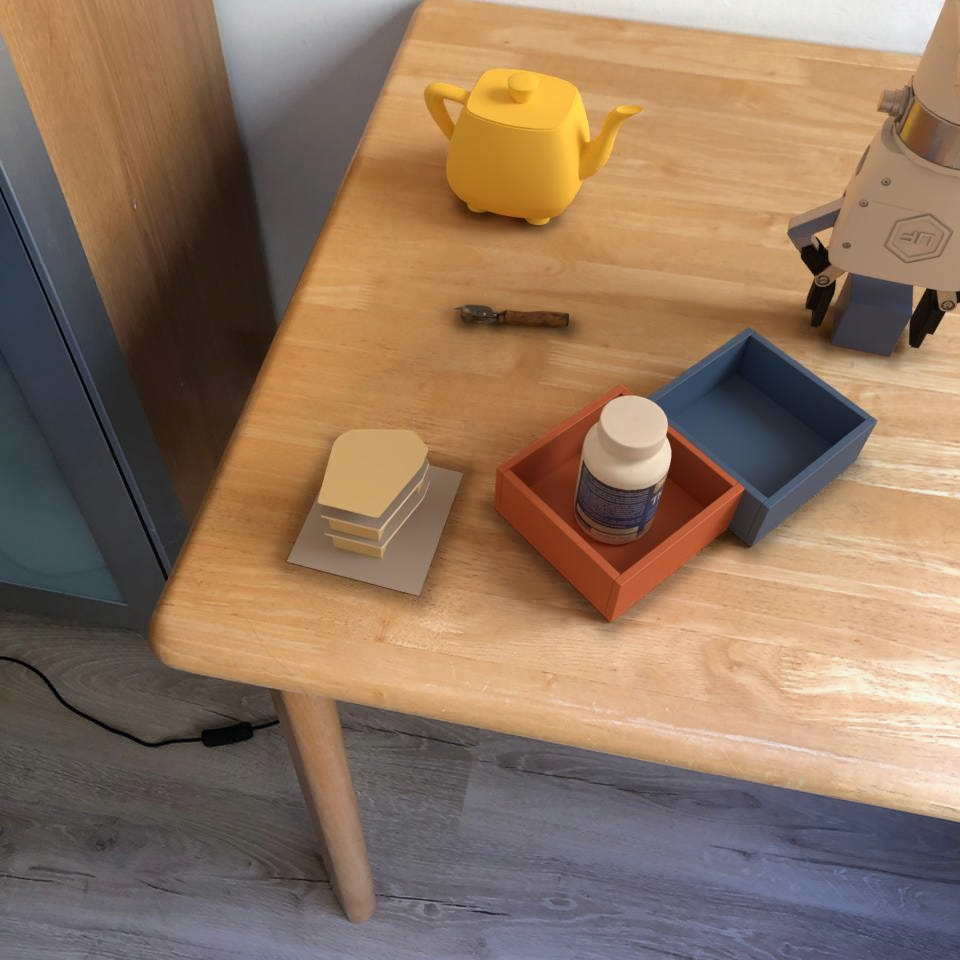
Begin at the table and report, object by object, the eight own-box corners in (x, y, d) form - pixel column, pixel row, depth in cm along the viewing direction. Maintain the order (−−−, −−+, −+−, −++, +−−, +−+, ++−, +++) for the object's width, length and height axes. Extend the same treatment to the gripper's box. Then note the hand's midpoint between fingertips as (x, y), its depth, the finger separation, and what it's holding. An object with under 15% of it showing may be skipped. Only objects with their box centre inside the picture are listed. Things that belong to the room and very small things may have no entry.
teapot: (638, 177, 86) (658, 65, 77) (610, 256, 80) (629, 144, 71) (446, 137, 89) (445, 25, 80) (405, 211, 83) (399, 98, 74)
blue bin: (855, 461, 68) (878, 420, 64) (751, 548, 64) (769, 509, 60) (734, 369, 73) (749, 326, 69) (629, 444, 68) (639, 402, 65)
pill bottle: (656, 548, 63) (685, 458, 55) (574, 546, 63) (590, 456, 55) (649, 481, 66) (675, 386, 58) (570, 479, 66) (586, 384, 58)
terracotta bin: (729, 526, 64) (746, 487, 61) (610, 623, 60) (620, 586, 56) (611, 425, 69) (620, 383, 66) (493, 507, 65) (495, 467, 61)
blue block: (890, 357, 74) (912, 314, 70) (830, 344, 74) (849, 301, 71) (892, 316, 76) (913, 273, 73) (834, 305, 77) (853, 261, 73)
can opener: (569, 320, 75) (571, 310, 74) (565, 342, 74) (567, 331, 73) (456, 304, 76) (455, 294, 75) (450, 325, 75) (449, 315, 74)
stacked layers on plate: (419, 596, 61) (415, 550, 57) (286, 561, 62) (273, 514, 58) (463, 473, 67) (463, 423, 62) (341, 444, 68) (333, 393, 63)
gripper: (816, 131, 60) (746, 335, 74) (1114, 184, 57) (981, 384, 72) (825, 66, 64) (757, 271, 78) (1102, 112, 61) (979, 315, 76)
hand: (864, 323), depth 75 cm, fingers open, 6 cm apart
